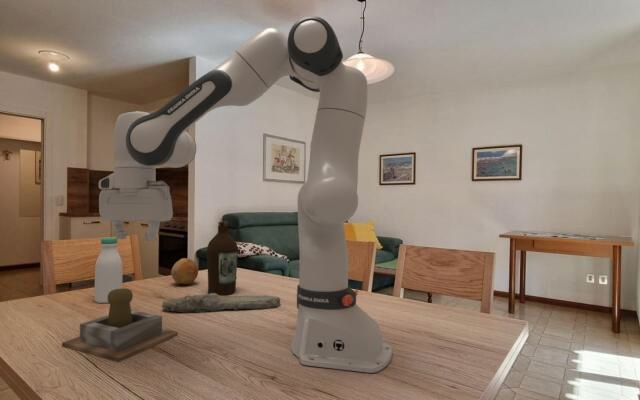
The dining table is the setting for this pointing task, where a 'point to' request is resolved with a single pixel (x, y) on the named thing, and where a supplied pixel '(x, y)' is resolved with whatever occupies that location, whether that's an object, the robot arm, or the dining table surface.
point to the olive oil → (222, 262)
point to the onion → (184, 271)
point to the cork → (119, 308)
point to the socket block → (120, 336)
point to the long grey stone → (219, 303)
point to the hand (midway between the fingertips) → (135, 240)
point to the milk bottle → (107, 270)
